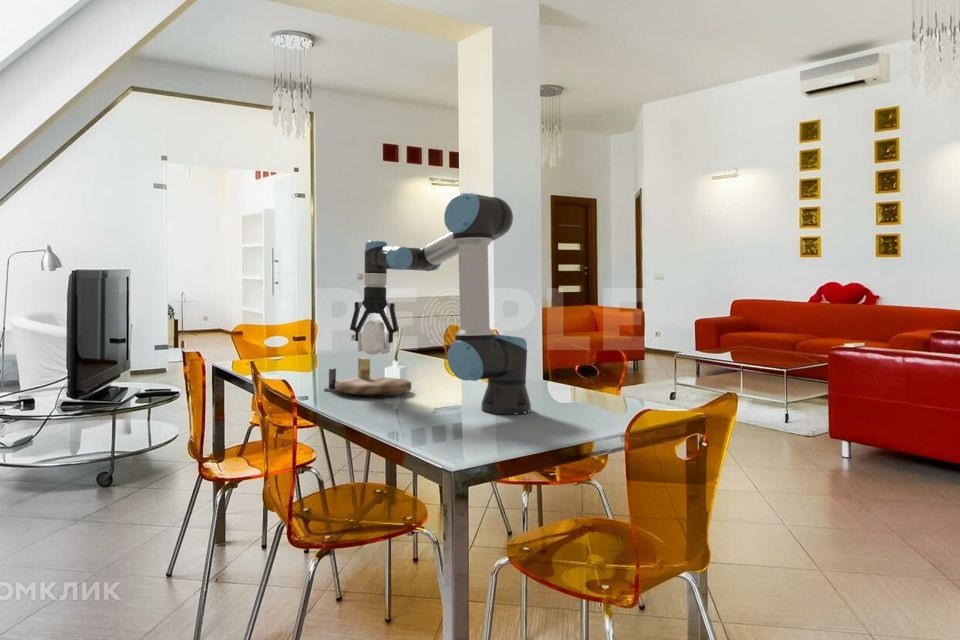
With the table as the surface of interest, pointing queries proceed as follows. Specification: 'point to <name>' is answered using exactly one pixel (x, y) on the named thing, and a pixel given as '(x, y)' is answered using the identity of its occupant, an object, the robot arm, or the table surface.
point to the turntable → (371, 382)
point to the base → (333, 379)
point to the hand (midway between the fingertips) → (373, 351)
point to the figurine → (373, 338)
